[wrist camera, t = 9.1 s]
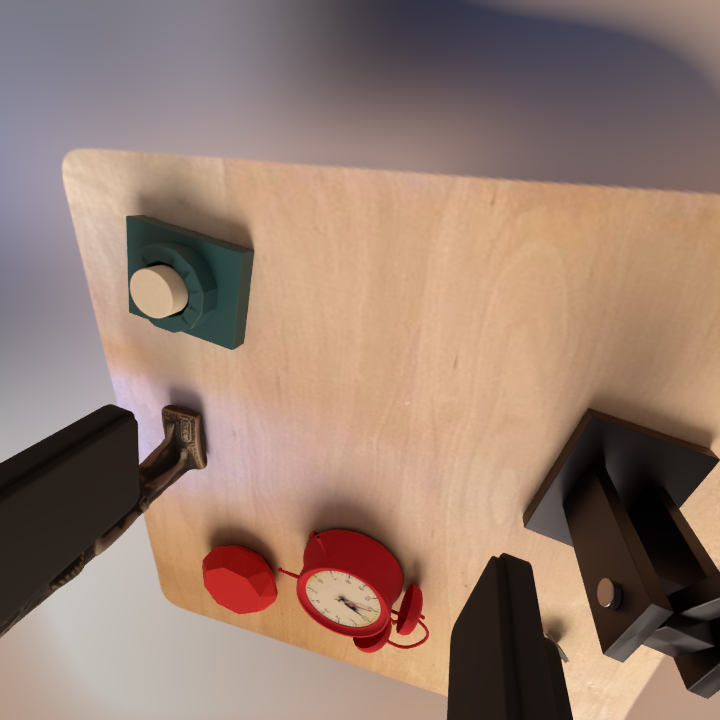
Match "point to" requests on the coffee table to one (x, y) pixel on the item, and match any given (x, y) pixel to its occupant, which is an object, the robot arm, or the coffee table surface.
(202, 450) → the statue
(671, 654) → the red handled lever
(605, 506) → the black lever base
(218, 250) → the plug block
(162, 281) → the power button
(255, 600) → the gemstone
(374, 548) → the alarm clock
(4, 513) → the robot arm
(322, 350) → the coffee table surface
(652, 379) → the coffee table surface
